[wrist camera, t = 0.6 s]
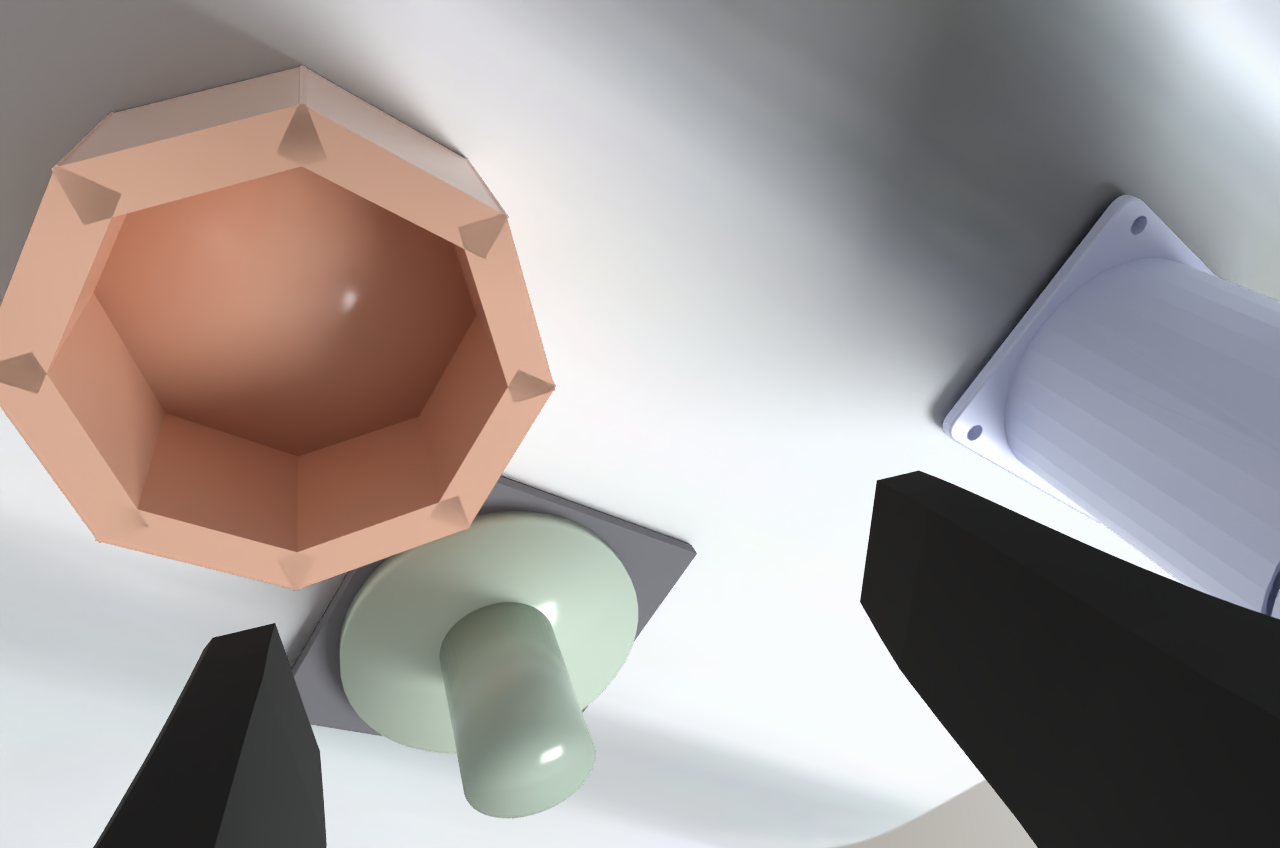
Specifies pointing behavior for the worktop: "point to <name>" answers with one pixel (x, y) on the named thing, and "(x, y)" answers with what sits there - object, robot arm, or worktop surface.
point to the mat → (639, 549)
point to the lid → (493, 653)
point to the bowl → (270, 332)
